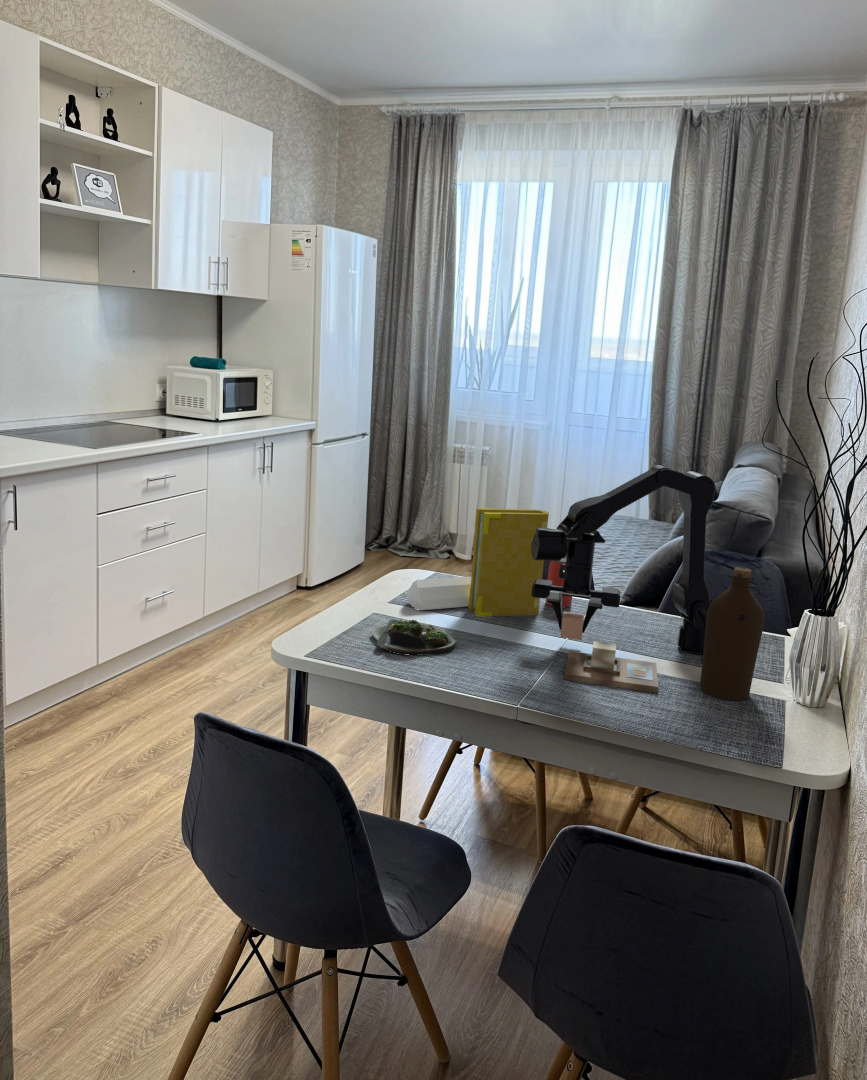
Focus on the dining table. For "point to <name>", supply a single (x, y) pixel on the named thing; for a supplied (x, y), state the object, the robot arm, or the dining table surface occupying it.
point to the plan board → (613, 672)
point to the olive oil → (732, 640)
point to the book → (505, 562)
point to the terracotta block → (572, 625)
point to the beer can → (558, 581)
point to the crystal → (440, 593)
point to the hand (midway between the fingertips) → (571, 630)
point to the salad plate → (413, 638)
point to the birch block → (603, 655)
